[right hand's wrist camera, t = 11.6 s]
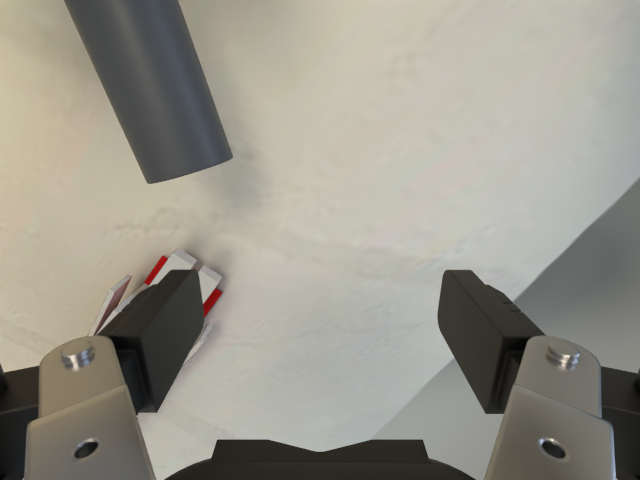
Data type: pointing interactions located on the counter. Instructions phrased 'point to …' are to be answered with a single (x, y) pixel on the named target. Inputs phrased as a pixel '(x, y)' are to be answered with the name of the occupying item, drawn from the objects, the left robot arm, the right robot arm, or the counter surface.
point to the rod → (153, 84)
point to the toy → (163, 266)
